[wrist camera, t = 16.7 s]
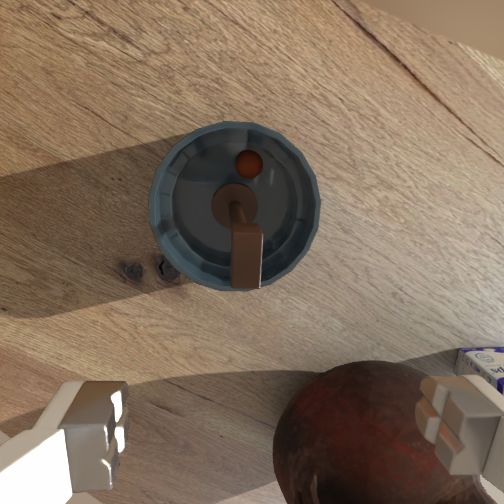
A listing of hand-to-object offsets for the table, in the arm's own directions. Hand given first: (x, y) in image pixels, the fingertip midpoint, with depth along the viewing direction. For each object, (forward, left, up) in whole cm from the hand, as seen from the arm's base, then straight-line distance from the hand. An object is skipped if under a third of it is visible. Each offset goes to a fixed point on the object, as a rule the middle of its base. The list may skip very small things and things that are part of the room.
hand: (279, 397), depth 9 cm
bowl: (0, 0, -33) cm, 33 cm away
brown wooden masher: (0, 0, -32) cm, 32 cm away
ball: (-5, +1, -31) cm, 31 cm away
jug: (+30, +18, -33) cm, 48 cm away
